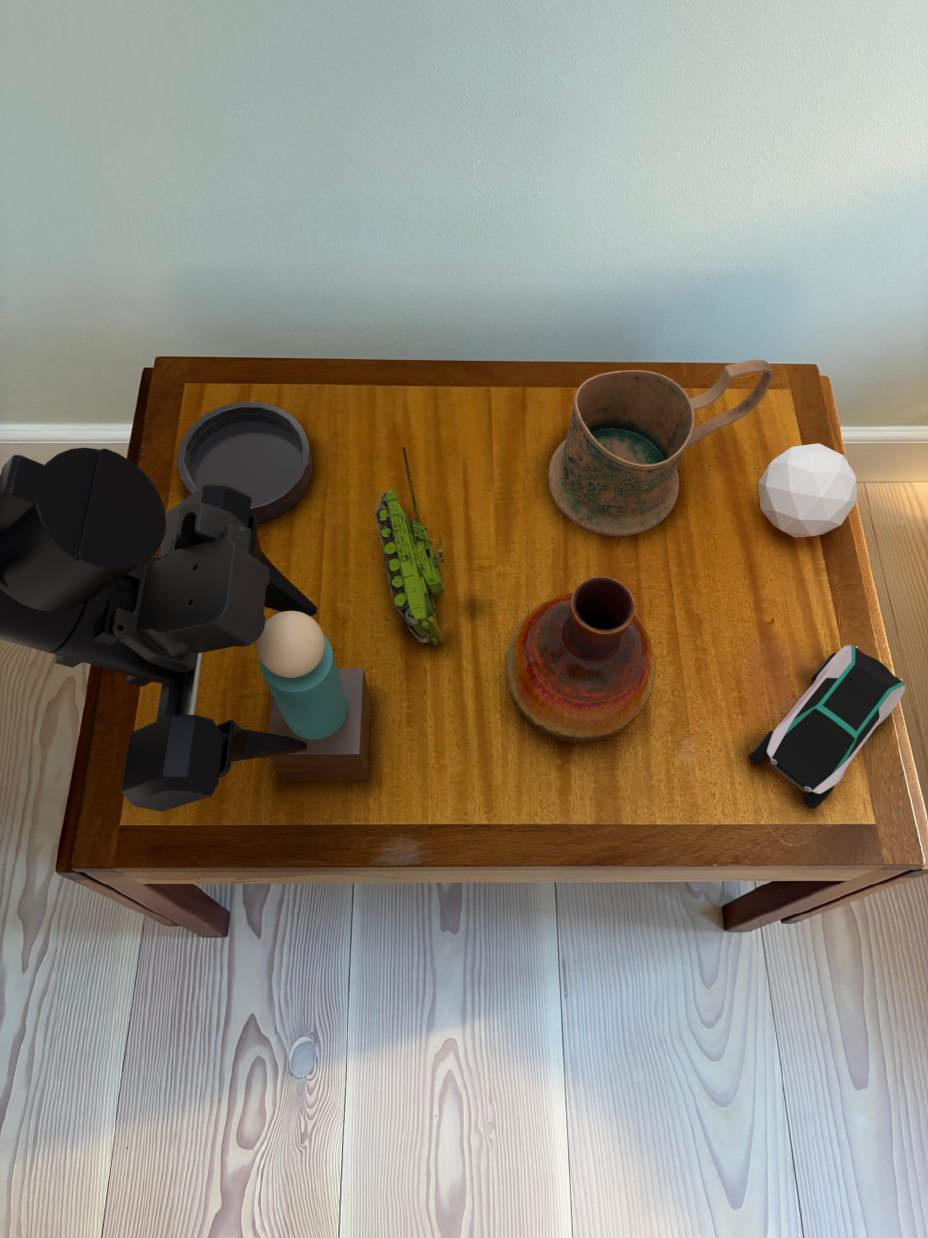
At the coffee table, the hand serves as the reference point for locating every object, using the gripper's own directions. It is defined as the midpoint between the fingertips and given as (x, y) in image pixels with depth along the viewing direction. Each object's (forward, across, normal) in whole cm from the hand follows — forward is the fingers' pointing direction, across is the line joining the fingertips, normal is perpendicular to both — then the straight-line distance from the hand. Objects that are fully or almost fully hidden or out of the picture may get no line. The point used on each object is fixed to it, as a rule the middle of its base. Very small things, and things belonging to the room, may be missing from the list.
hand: (308, 678), depth 57 cm
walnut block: (+9, 0, +10) cm, 13 cm away
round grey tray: (+3, +25, +16) cm, 29 cm away
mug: (+28, +25, -9) cm, 39 cm away
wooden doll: (+4, 0, +4) cm, 6 cm away
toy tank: (+14, +17, +5) cm, 23 cm away
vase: (+23, +4, -4) cm, 23 cm away
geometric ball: (+34, +17, -20) cm, 42 cm away
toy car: (+36, +1, -17) cm, 40 cm away
